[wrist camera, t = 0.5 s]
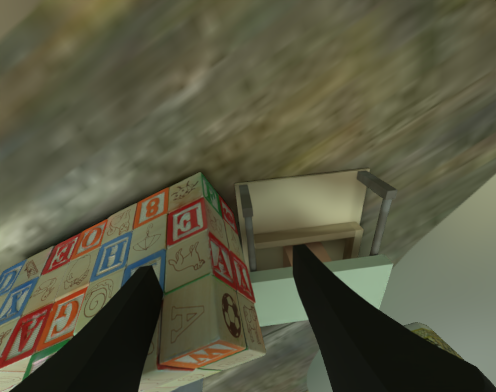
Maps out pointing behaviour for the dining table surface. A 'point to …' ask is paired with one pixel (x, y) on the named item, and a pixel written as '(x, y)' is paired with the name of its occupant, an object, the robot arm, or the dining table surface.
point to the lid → (287, 298)
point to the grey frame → (307, 215)
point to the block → (313, 246)
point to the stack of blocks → (121, 269)
